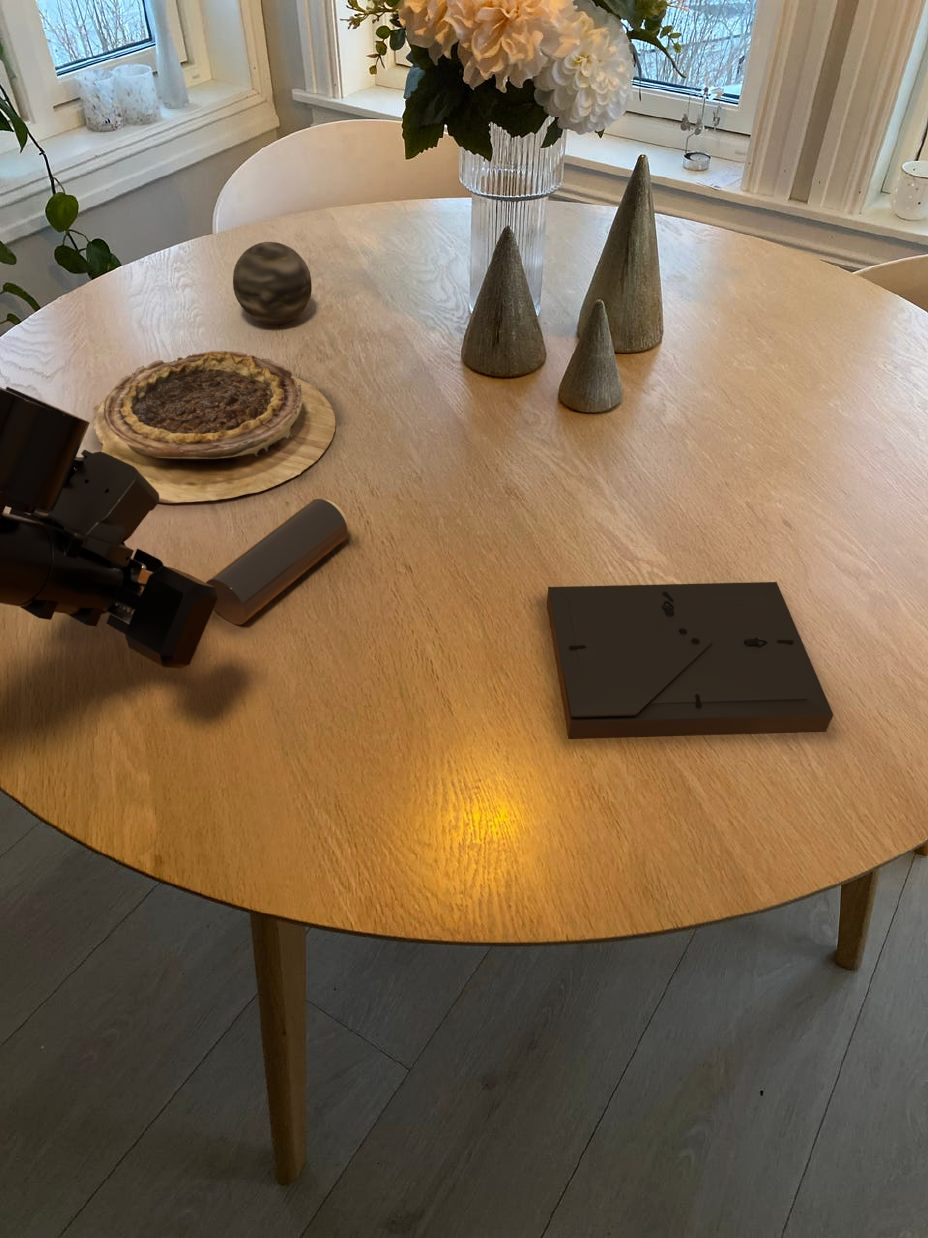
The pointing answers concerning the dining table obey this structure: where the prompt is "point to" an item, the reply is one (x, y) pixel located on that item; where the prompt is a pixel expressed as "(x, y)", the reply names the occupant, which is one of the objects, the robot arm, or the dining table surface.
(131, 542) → the dining table surface
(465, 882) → the dining table surface
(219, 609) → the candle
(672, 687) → the picture frame
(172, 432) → the pie
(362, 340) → the dining table surface
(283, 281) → the decorative stone
